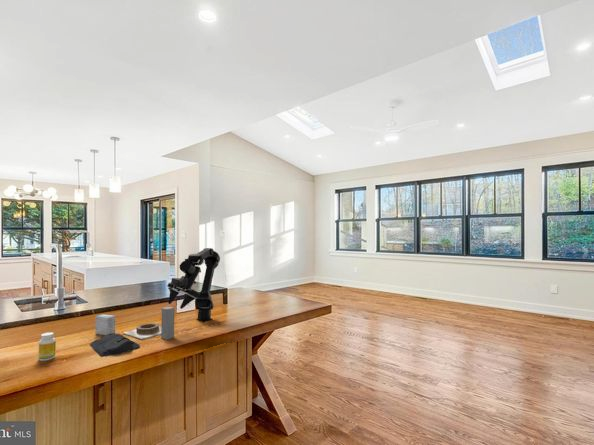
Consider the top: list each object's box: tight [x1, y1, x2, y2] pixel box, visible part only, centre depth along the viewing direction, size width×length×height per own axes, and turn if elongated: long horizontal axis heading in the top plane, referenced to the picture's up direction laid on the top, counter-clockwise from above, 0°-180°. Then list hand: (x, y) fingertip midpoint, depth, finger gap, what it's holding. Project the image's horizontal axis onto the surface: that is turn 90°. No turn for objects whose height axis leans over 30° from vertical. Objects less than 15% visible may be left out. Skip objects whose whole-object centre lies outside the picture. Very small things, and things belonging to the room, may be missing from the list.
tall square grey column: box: [160, 306, 175, 341], centre depth 154 cm, size 4×4×14 cm
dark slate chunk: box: [89, 333, 141, 357], centre depth 142 cm, size 15×22×5 cm
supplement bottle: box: [37, 332, 57, 362], centre depth 128 cm, size 5×5×10 cm
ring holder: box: [122, 322, 161, 341], centre depth 161 cm, size 16×16×3 cm
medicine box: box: [94, 314, 116, 336], centre depth 159 cm, size 8×4×9 cm, turn 74°
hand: (174, 306), depth 161 cm, fingers open, 9 cm apart
